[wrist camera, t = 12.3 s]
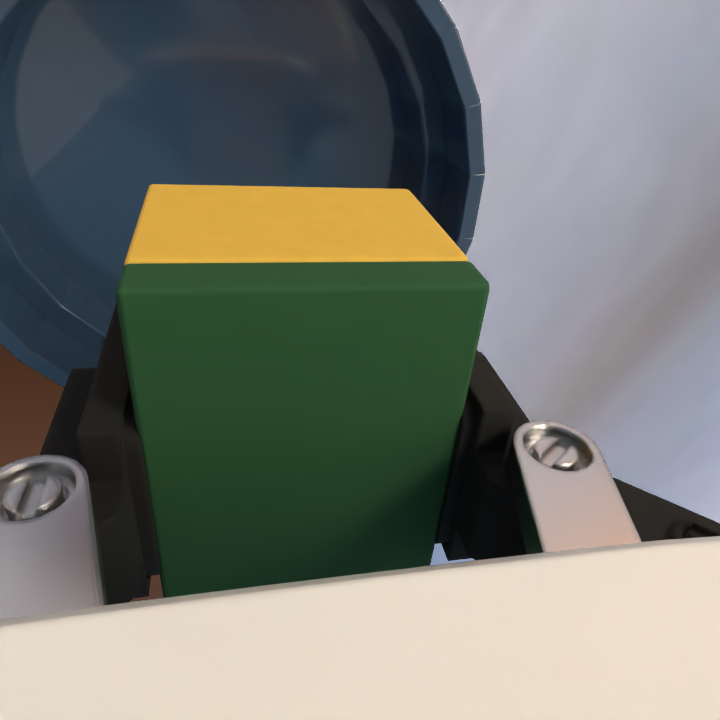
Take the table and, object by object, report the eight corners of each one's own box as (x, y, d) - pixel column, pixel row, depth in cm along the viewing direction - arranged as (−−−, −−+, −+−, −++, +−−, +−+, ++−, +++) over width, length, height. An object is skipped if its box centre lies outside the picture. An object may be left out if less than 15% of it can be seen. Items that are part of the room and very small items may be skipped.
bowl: (-120, -166, 14) (-235, -217, 10) (468, -93, 17) (538, -111, 14) (22, 364, 22) (-15, 441, 18) (408, 345, 25) (442, 408, 22)
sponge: (147, 182, 10) (112, 289, 6) (409, 187, 11) (493, 284, 7) (183, 489, 14) (171, 654, 10) (374, 473, 14) (419, 621, 11)
